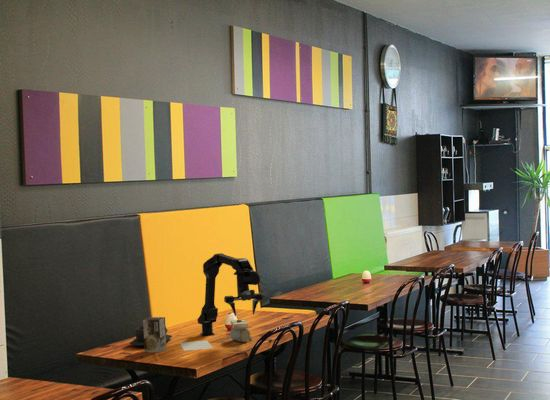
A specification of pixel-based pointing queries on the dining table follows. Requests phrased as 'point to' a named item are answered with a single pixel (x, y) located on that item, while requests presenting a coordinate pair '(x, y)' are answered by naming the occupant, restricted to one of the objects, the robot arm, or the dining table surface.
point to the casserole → (140, 336)
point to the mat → (196, 345)
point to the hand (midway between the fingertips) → (244, 315)
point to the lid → (239, 324)
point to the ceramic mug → (240, 335)
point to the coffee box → (154, 334)
